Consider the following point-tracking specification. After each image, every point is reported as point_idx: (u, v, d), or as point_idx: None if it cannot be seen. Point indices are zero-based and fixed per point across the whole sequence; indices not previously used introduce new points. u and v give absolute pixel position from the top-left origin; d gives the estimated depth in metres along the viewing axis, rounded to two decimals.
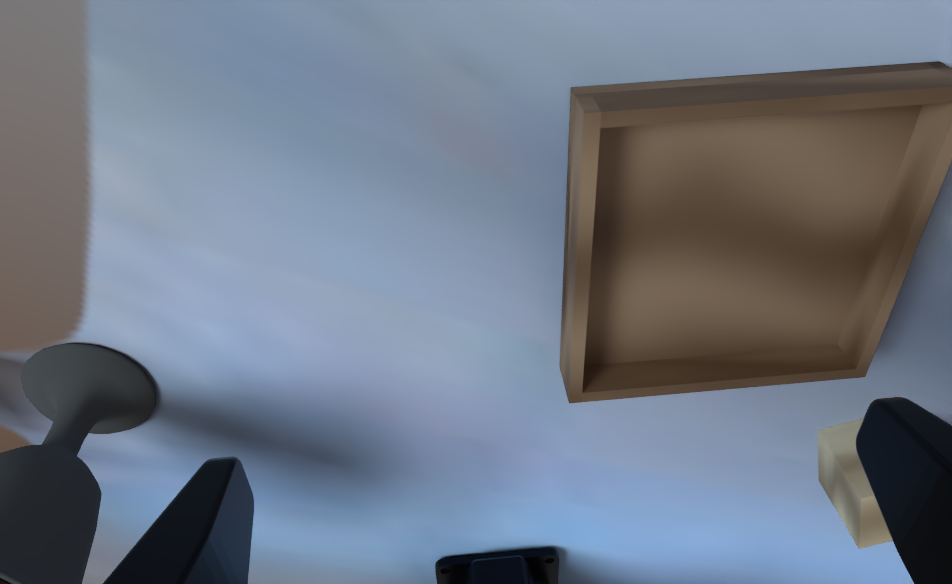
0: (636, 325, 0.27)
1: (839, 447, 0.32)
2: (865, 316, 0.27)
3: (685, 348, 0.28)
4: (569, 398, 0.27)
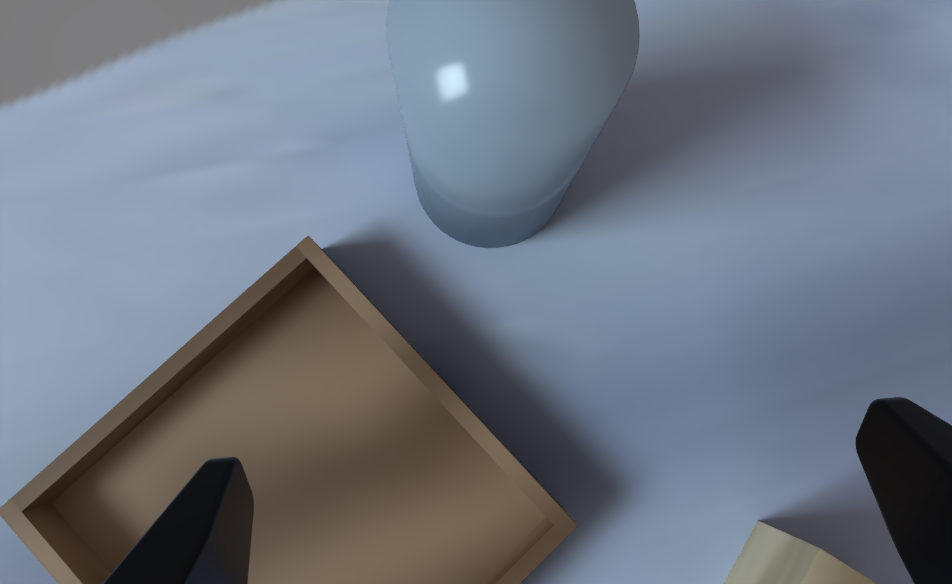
0: None
1: None
2: None
3: None
4: None
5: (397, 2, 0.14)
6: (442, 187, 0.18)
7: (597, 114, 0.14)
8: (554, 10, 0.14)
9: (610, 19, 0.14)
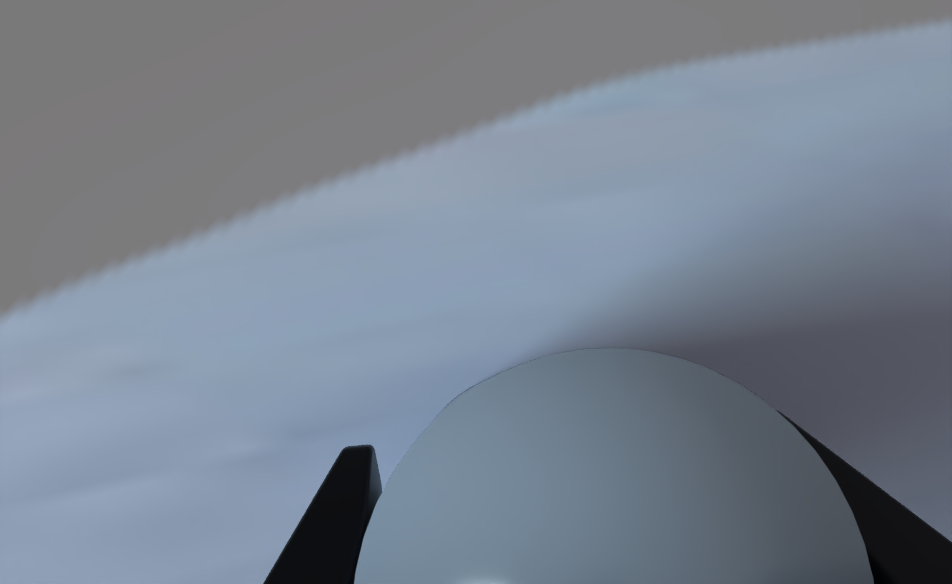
0: None
1: None
2: None
3: None
4: None
5: (374, 563, 0.07)
6: None
7: None
8: (701, 568, 0.07)
9: (816, 583, 0.07)
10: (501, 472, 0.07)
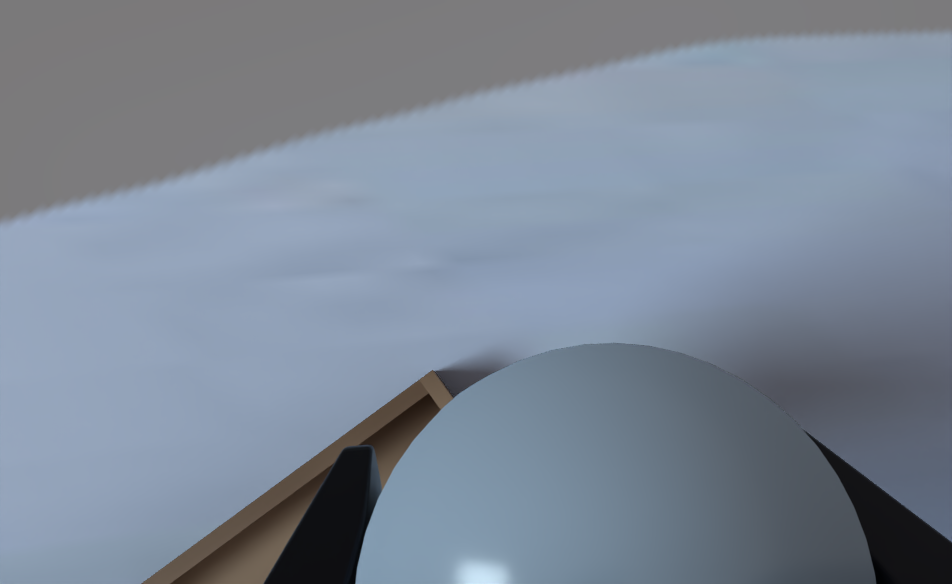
0: None
1: None
2: None
3: None
4: None
5: (376, 557, 0.07)
6: None
7: None
8: (702, 563, 0.07)
9: (818, 578, 0.07)
10: (504, 467, 0.07)
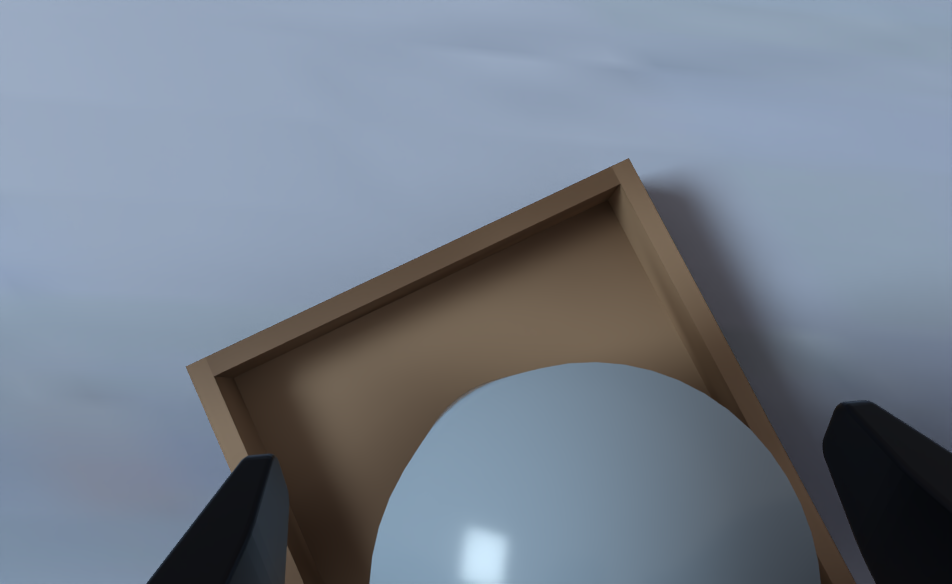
0: None
1: None
2: None
3: None
4: None
5: (388, 548, 0.08)
6: None
7: None
8: (669, 552, 0.08)
9: (769, 565, 0.08)
10: (499, 470, 0.08)
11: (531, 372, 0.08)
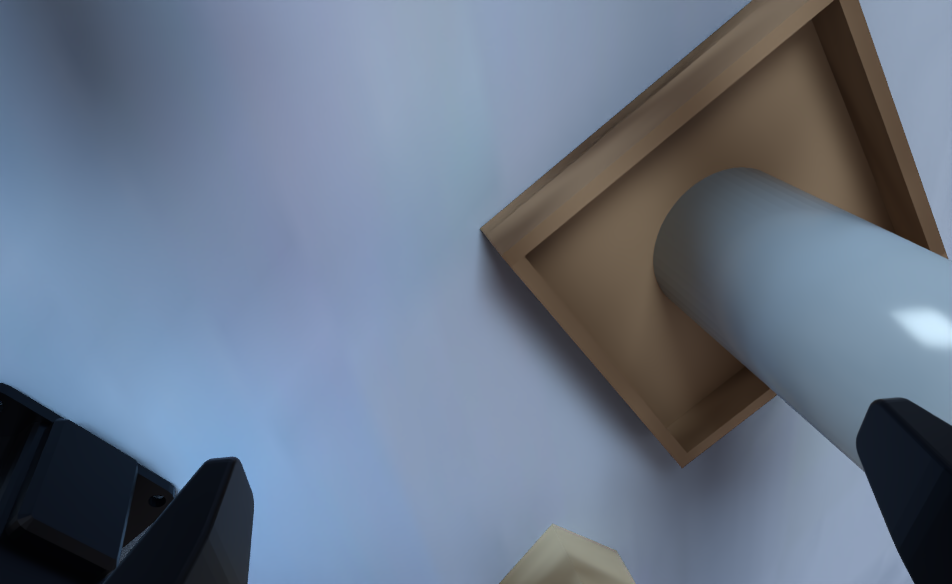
0: (596, 247, 0.22)
1: (571, 549, 0.28)
2: (727, 406, 0.26)
3: (593, 316, 0.23)
4: (506, 250, 0.20)
5: None
6: (777, 299, 0.18)
7: None
8: None
9: None
10: None
11: None
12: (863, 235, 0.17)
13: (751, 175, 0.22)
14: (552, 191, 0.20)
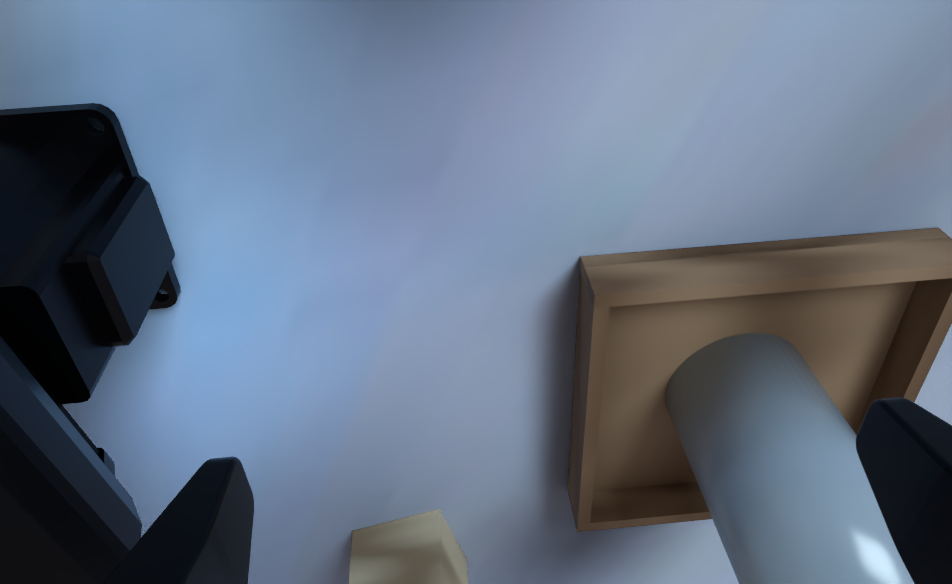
0: (650, 329, 0.24)
1: (443, 539, 0.29)
2: (641, 506, 0.28)
3: (604, 378, 0.25)
4: (601, 294, 0.21)
5: None
6: (779, 470, 0.20)
7: None
8: None
9: None
10: None
11: None
12: None
13: (797, 356, 0.24)
14: (661, 270, 0.22)
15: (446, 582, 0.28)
